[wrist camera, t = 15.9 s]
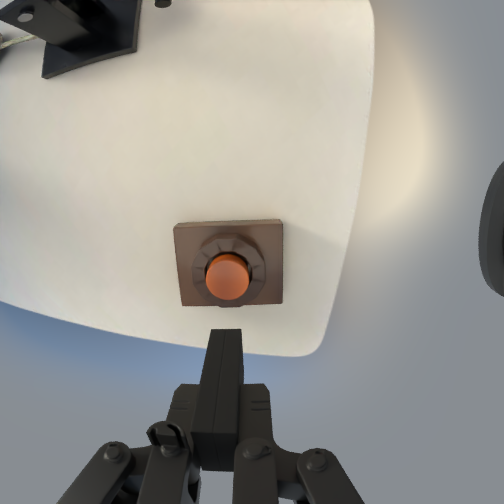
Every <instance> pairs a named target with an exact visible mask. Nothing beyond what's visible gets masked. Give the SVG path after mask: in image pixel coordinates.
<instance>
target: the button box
mask: <svg viewBox="0 0 504 504" xmlns="http://www.w3.org/2000/svg"><path fill="white" fill-rule="evenodd" d="M173 233H174V243H175V253H176V262H177V271H178V279H179V287H180V295H181V302H182V306H219V307H221V308H225V307H241V306H243V305H263V304H282V299H283V224H282V222H281V220H280V219H273V220H240V221H214V222H191V223H178V224H177V225H176V226H175V227H174V228H173ZM224 254H232V255H236V256H238V257H240V258H241V259H242V260H243V261H244V262H245V263H246V265H247V267H248V270H249V285H248V288H247V290H246V291H245V293H244V294H243V295H241V296H240V297H238V298H236V299H232V300H224V299H220V298H218V297H216V296H214V295H213V294H212V293H211V292H210V290H209V289H208V287H207V284H206V275H207V272H208V269H209V266H210V264H211V262H212V261H213V260H214V259H215V258H217V257H218V256H221V255H224Z"/></svg>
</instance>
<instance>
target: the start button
mask: <svg viewBox="0 0 504 504" xmlns="http://www.w3.org/2000/svg"><path fill="white" fill-rule="evenodd" d="M206 284H207V287H208V289H209V290H210V292H211V293H212V294H213V295H214V296H216V297H218V298H220V299H224V300H232V299H236V298H238V297H240V296H241V295H243V294H244V293H245V291H246V290H247V288H248V285H249V270H248V267H247V265H246V263H245V262H244V261H243V260H242V259H241V258H240V257H238V256H236V255H232V254H224V255H221V256H218V257H217V258H215V259H214V260H213V261H212V262H211V264H210V266H209V269H208V272H207V275H206Z"/></svg>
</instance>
